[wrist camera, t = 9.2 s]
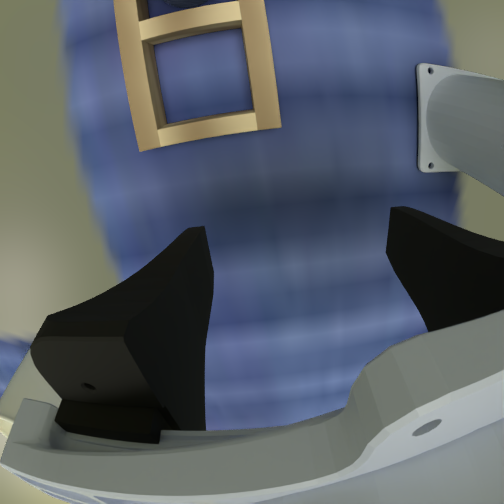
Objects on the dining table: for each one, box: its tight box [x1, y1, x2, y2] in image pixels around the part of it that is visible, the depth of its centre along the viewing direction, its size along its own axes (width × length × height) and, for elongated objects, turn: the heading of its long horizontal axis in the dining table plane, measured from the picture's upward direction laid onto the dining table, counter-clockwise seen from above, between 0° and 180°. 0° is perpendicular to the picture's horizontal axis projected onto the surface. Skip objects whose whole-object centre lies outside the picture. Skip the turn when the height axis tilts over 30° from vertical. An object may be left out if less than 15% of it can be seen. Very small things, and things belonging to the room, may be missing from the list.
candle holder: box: [0, 349, 62, 438], centre depth 24 cm, size 10×10×12 cm
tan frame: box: [114, 0, 281, 152], centre depth 13 cm, size 8×14×2 cm, turn 7°
